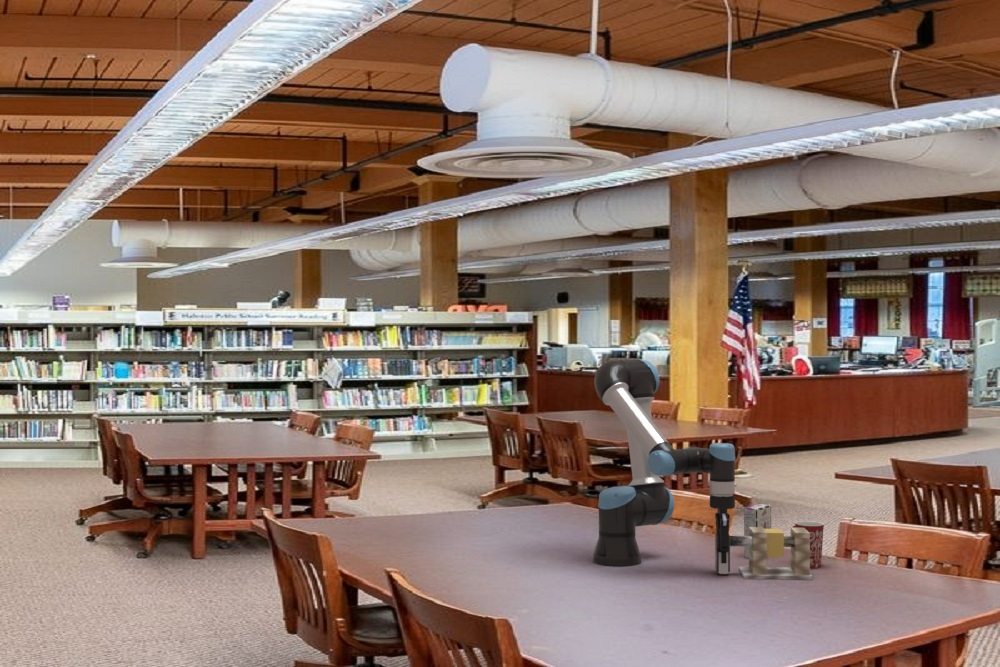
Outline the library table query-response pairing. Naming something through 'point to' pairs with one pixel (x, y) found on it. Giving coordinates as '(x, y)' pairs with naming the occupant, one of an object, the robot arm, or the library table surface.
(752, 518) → the candy bar box
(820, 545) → the mug
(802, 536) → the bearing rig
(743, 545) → the shaft
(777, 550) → the spacer
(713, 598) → the library table surface
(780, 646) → the library table surface
